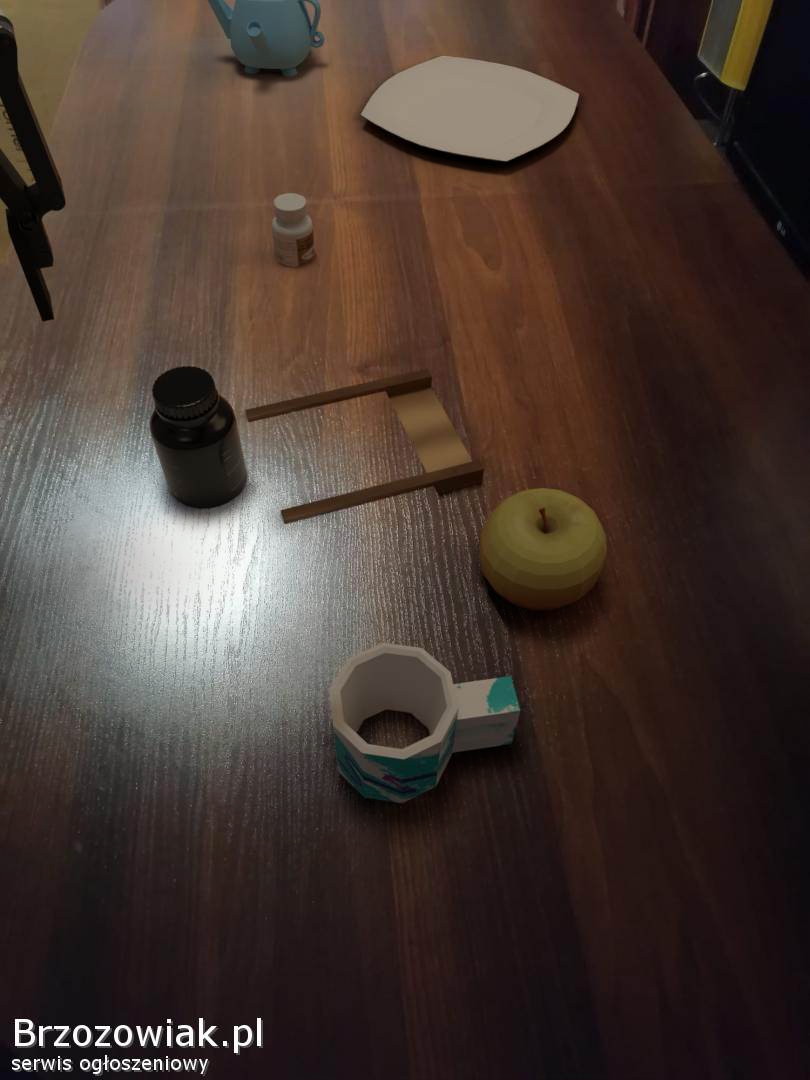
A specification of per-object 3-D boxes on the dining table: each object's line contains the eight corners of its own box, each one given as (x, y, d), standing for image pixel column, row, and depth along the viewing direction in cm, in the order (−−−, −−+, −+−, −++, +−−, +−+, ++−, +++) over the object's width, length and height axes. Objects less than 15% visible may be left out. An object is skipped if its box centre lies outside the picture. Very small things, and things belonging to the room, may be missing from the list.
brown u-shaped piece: (247, 423, 81) (244, 409, 79) (427, 382, 85) (427, 368, 83) (285, 533, 72) (283, 520, 71) (482, 482, 76) (484, 468, 75)
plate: (513, 189, 107) (515, 174, 106) (334, 130, 116) (334, 116, 114) (600, 105, 122) (603, 90, 120) (435, 58, 130) (436, 44, 128)
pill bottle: (310, 279, 95) (305, 214, 89) (271, 274, 95) (264, 210, 89) (319, 256, 98) (315, 192, 91) (281, 252, 98) (274, 188, 92)
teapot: (207, 55, 129) (194, -31, 120) (286, 34, 134) (279, -50, 126) (258, 95, 122) (248, 6, 113) (339, 71, 127) (336, -15, 118)
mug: (330, 709, 62) (323, 649, 56) (491, 686, 64) (503, 625, 57) (344, 819, 57) (338, 768, 51) (518, 792, 59) (535, 738, 52)
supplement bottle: (222, 450, 78) (199, 344, 69) (264, 493, 75) (246, 389, 66) (155, 485, 76) (122, 380, 66) (196, 532, 72) (167, 429, 63)
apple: (496, 517, 74) (507, 451, 68) (607, 551, 72) (629, 487, 66) (459, 605, 68) (466, 542, 62) (578, 644, 66) (599, 584, 60)
